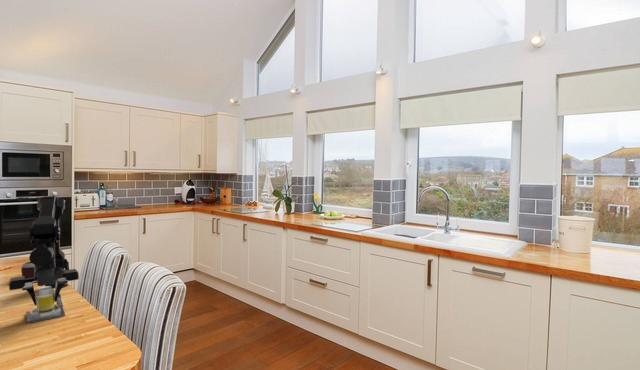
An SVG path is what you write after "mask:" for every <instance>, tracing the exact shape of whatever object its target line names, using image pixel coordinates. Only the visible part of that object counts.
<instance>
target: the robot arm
mask: <svg viewBox="0 0 640 370" xmlns="http://www.w3.org/2000/svg"><path fill="white" fill-rule="evenodd" d="M36 209H37V210H38V211H39V215H38V218H36V219H34V220H33V222H32V226H29V230H28V231H29V234H28V240H27V241H28V242H27V244H28V245H27V246H33V250H32V251H31V252H30V253H29V256H28V257H29V258H28V259H29V262H31V263H32V264H34V274H35V277H34V278H27V279H25V277H24V276H22V275H21V276H15V277H11V278H10V279H9V281H8V287H9V288H8V290H9V291H14V290H22V291H26V292H27V293H28V294H29V296H30V297H31V300H32V302H33V304H34V306H36V307H37V299H36V292H35V288H34V284H36V285H37V286H38V287H46V286H51V287H52V288H55V294H54V303H55V302H58V300H57V298H58V295H59V294H60V292H61V290H62V288H64V287H68V286H69V283H68V282H71V281H77V280H79V279H80V278H79V276H80V275H79V271H78V270H77V269H76V268H74V269H73V268H72V269H71V268H70V263H69V261H68V259H67V258H66V255H65V253H64V251H62V250H61V241H60V240H61V239H60V238H61V228H60V219H61V217H62V216H63V214H64V210H65V209H66V203H65V199H64V198H61V197H58V196H55V195H47V196H46V195H43V196H41V197H40V198H38V199H37V207H36Z"/></svg>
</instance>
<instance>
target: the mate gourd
mask: <svg viewBox="0 0 640 370" xmlns="http://www.w3.org/2000/svg"><path fill="white" fill-rule="evenodd" d="M21 276H24V277H25V279H27V278H34V277H35V274H34V264H32V263H31V261H27V262H24V263H23V264H22V266H21Z"/></svg>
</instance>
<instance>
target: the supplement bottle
mask: <svg viewBox="0 0 640 370" xmlns="http://www.w3.org/2000/svg"><path fill="white" fill-rule="evenodd" d="M51 291H52V287H51V286H46V287H45V286H40V287H39V288H37V291H36V292H37V295H35V297H36V308H37V313H39V314H41V313H46V312H51V311H54V305H55V301H54V293H53V292H51Z"/></svg>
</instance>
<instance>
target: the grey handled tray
mask: <svg viewBox="0 0 640 370" xmlns="http://www.w3.org/2000/svg"><path fill="white" fill-rule="evenodd" d="M51 292H53V293H54V294H55V288H52V291H51ZM57 303H58V304H54V311H51V312H46V313H41V314H39V313H37V307H35V308H33V309H31V310H30V311H26V313H25V314H26V322H27V324H33V323H37V322H38V323H39V322H42V321H47V320H51V319H52V320H53V319H57V318H62V317H65V316H66V313H65V310H64V303H63V301H62V296H61V293H59V295H58V298H57Z"/></svg>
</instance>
